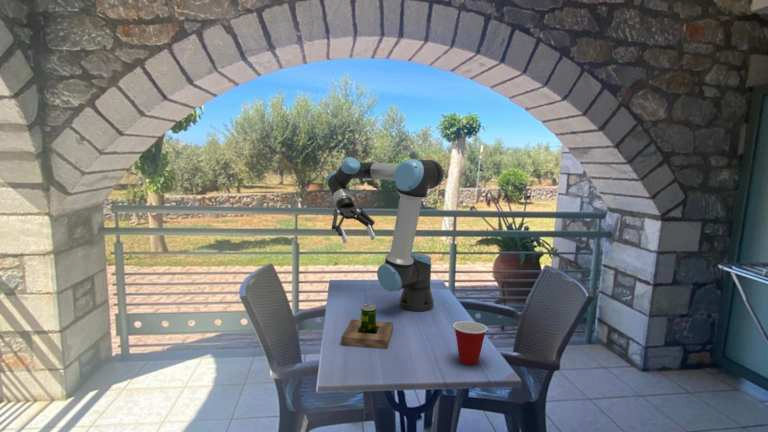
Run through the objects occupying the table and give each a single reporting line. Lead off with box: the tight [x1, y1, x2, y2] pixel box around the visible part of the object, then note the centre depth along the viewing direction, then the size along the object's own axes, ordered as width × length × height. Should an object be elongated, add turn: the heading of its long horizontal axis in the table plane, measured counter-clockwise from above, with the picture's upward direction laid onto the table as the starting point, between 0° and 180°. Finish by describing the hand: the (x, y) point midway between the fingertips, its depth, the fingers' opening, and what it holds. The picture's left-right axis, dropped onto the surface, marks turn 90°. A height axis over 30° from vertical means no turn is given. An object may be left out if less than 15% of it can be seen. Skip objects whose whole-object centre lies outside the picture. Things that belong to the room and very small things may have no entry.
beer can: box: [360, 302, 377, 334], centre depth 150 cm, size 5×5×12 cm
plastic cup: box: [453, 320, 488, 366], centre depth 133 cm, size 11×11×12 cm
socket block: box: [340, 319, 394, 350], centre depth 151 cm, size 16×16×3 cm
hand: (359, 240), depth 177 cm, fingers open, 13 cm apart
